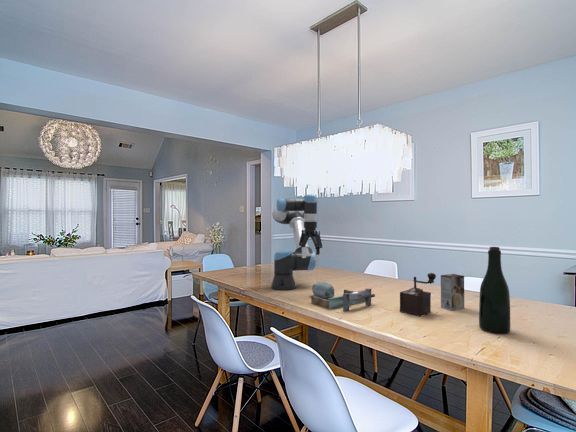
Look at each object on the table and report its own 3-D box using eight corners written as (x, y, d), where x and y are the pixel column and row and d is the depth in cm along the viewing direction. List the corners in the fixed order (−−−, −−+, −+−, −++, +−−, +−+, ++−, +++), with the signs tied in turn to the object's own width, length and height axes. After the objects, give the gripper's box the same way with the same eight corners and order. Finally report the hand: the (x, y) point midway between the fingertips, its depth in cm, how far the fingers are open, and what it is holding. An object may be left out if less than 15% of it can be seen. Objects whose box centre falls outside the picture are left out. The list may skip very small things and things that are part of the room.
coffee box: (453, 305, 163) (453, 273, 163) (464, 308, 157) (464, 275, 157) (440, 307, 159) (440, 274, 159) (451, 310, 153) (451, 277, 153)
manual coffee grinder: (421, 317, 143) (421, 276, 143) (399, 311, 152) (399, 273, 152) (437, 310, 153) (438, 273, 153) (415, 305, 162) (416, 269, 162)
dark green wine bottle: (515, 331, 126) (515, 247, 126) (502, 336, 120) (502, 248, 120) (487, 323, 135) (487, 245, 135) (473, 328, 129) (473, 246, 129)
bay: (311, 302, 167) (311, 293, 167) (345, 295, 182) (345, 286, 182) (330, 309, 155) (330, 298, 155) (365, 300, 170) (365, 291, 170)
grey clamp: (342, 309, 154) (342, 293, 154) (370, 302, 167) (370, 287, 167) (347, 311, 151) (347, 294, 151) (376, 304, 164) (376, 288, 164)
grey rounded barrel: (340, 292, 176) (331, 276, 175) (330, 302, 171) (321, 287, 170) (324, 293, 187) (316, 278, 186) (314, 303, 181) (305, 288, 181)
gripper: (293, 220, 194) (292, 257, 194) (319, 221, 176) (318, 262, 176) (302, 220, 199) (302, 256, 199) (328, 221, 180) (328, 260, 180)
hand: (310, 259), depth 187 cm, fingers open, 11 cm apart
